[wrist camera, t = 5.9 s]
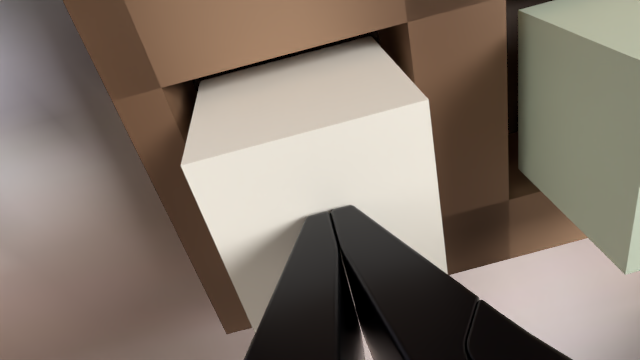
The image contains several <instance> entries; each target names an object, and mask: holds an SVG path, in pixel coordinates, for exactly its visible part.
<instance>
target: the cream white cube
mask: <svg viewBox="0 0 640 360" xmlns="http://www.w3.org/2000/svg"><path fill="white" fill-rule="evenodd" d="M181 168H182V170H183V172H184V175H185V177H186V179H187V181H188V184H189V186H190V188H191V190H192V193H193V195H194V197H195V199H196V202H197V204H198V206H199V208H200V211H201V213H202V215H203V217H204V220H205V222H206V224H207V226H208V229H209V231H210V233H211V235H212V238H213V240H214V242H215V244H216V247H217V249H218V251H219V253H220V256H221V258H222V260H223V262H224V265H225V267H226V269H227V271H228V274H229V276H230V278H231V280H232V283H233V285H234V287H235V289H236V292H237V294H238V296H239V298H240V301H241V303H242V305H243V308H244V310H245V312H246V314H247V317H248V319H249V321H250V323H251V326H252V328H253V330H254V332H255V333H256V331H257V328H258V326H259V324H260V322H261V319H262V317H263V315H264V312H265V310H266V308H267V306H268V303H269V301H270V299H271V296H272V294H273V292H274V290H275V287H276V285H277V283H278V280H279V278H280V276H281V274H282V271H283V269H284V267H285V264H286V262H287V260H288V258H289V255H290V253H291V251H292V248H293V246H294V244H295V242H296V239H297V237H298V235H299V232H300V230H301V228H302V226H303V223H304V221H305V219H306V217H307V216H310V215H313V214H317V213H321V212H325V211H327V212H329V213H331V211H332V210H333V209H336V208H340V207H343V206H347V205H353V206H355V207H356V208H358V209H359V210H360V211H362V212H363V213H364V214H366V215H367V216H369V217H370V218H371V219H373V220H374V221H375V222H377V223H378V224H379V225H381V226H382V227H384V228H385V229H386V230H388V231H389V232H390V233H392V234H393V235H394V236H396V237H397V238H399V239H400V240H401V241H403V242H404V243H405V244H407V245H408V246H409V247H411V248H412V249H414V250H415V251H416V252H418V253H419V254H420V255H422V256H423V257H424V258H426V259H427V260H429V261H430V262H431V263H433V264H434V265H435V266H437V267H438V268H439V269H441V270H442V271H444V272H445V273H446V274H448V272H447V263H446V253H445V244H444V235H443V226H442V217H441V208H440V199H439V190H438V180H437V171H436V162H435V153H434V144H433V135H432V126H431V117H430V107H429V99H428V98H427V97H426V96H425V95H424V94H423V93H422V92H421V91H420V89H419V88H418V87H417V86H416V85H415V84H414V83H413V82H412V81H411V80H410V78H409V77H408V76H407V75H406V74H405V73H404V72H403V71H402V70H401V69H400V67H399V66H398V65H397V64H396V63H395V62H394V61H393V60H392V59H391V58H390V56H389V55H388V54H387V53H386V52H385V51H384V50H383V49H382V48H381V47H380V46H379V44H378V43H377V42H376V41H375V40H374V39H373V38H372V37H371V36H368V37H364V38H360V39H356V40H353V41H349V42H345V43H341V44H338V45H334V46H330V47H326V48H323V49H319V50H315V51H311V52H308V53H304V54H300V55H296V56H293V57H289V58H285V59H281V60H278V61H274V62H270V63H266V64H263V65H259V66H255V67H251V68H248V69H244V70H240V71H236V72H233V73H229V74H225V75H221V76H218V77H214V78H210V79H206V80H203V81H200V85H199V90H198V94H197V98H196V102H195V106H194V111H193V115H192V119H191V123H190V128H189V132H188V136H187V140H186V145H185V149H184V153H183V157H182V162H181ZM330 216H331V214H330ZM331 219H332V218H331ZM332 223H333V222H332ZM333 227H334V226H333ZM334 231H335V230H334ZM335 234H336V233H335ZM336 238H337V237H336ZM337 242H338V241H337ZM339 249H340V248H339ZM340 253H341V252H340ZM341 257H342V256H341ZM343 264H344V263H343ZM344 268H345V267H344ZM345 272H346V271H345ZM347 279H348V278H347ZM348 283H349V282H348ZM349 287H350V286H349ZM350 291H351V290H350ZM351 294H352V293H351ZM352 298H353V297H352ZM353 302H354V301H353ZM354 306H355V304H354Z"/></svg>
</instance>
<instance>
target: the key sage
mask: <svg viewBox="0 0 640 360" xmlns="http://www.w3.org/2000/svg"><path fill="white" fill-rule="evenodd" d="M518 169H519V170H520V171H521V172H522V173H523V174H524V175H525V176H526V177H527V178H528V179H529V180H530V181H531V182H532V183H533V184H534V185H535V186H536V187H537V188H538V189H539V190H540V191H541V192H542V193H543V194H544V195H545V196H546V197H547V198H549V199H550V200H551V201H552V202H553V203H554V204H555V205H556V206H557V207H558V208H559V209H560V210H561V211H562V212H563V213H564V214H565V215H566V216H567V217H568V218H569V219H570V220H571V221H572V222H573V223H574V224H575V225H576V226H577V227H578V228H579V229H580V230H581V231H582V232H583V233H584V234H585V235H586V236H587V237H588V238H589V239H590V240H591V241H592V242H593V243H594V244H595V245H596V246H597V247H598V248H599V249H600V250H601V251H602V252H603V253H604V254H605V255H606V256H607V257H608V258H609V259H610V260H611V261H612V262H613V263H614V264H615V265H616V266H617V267H618V268H619V269H620V270H621V271H622V272H623V273H624V274H625V275H626V274H630V273H633V272H637V271H640V0H554V1H550V2H546V3H542V4H539V5H535V6H531V7H527V8H524V9H520V10H518Z"/></svg>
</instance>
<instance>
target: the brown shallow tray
mask: <svg viewBox="0 0 640 360" xmlns="http://www.w3.org/2000/svg"><path fill="white" fill-rule="evenodd" d="M63 2H64V4H65V6H66V8H67V11H68V13H69V15H70V17H71V19H72V21H73V23H74V25H75V27H76V29H77V31H78V33H79V35H80V37H81V39H82V41H83V43H84V45H85V47H86V49H87V51H88V53H89V55H90V57H91V59H92V61H93V63H94V65H95V67H96V69H97V71H98V74H99V76H100V78H101V80H102V82H103V84H104V86H105V88H106V90H107V92H108V94H109V96H110V98H111V100H112V102H113V104H114V106H115V108H116V110H117V112H118V114H119V116H120V118H121V120H122V122H123V124H124V126H125V128H126V130H127V132H128V135H129V137H130V139H131V141H132V143H133V145H134V147H135V149H136V151H137V153H138V155H139V157H140V159H141V161H142V163H143V165H144V167H145V169H146V171H147V173H148V175H149V177H150V179H151V181H152V183H153V185H154V187H155V189H156V191H157V193H158V195H159V198H160V200H161V202H162V204H163V206H164V208H165V210H166V212H167V214H168V216H169V218H170V220H171V222H172V224H173V226H174V228H175V230H176V232H177V234H178V236H179V238H180V240H181V242H182V244H183V246H184V248H185V250H186V252H187V254H188V256H189V259H190V261H191V263H192V265H193V267H194V269H195V271H196V273H197V275H198V277H199V279H200V281H201V283H202V285H203V287H204V289H205V291H206V293H207V295H208V297H209V299H210V301H211V303H212V305H213V307H214V309H215V311H216V313H217V315H218V317H219V319H220V322H221V324H222V326H223V328H224V330H225V332H226V334H230V333H233V332H237V331H241V330H245V329H248V328H252V326H251V323H250V321H249V319H248V317H247V314H246V312H245V310H244V308H243V305H242V303H241V301H240V298H239V296H238V294H237V292H236V289H235V287H234V285H233V283H232V280H231V278H230V276H229V274H228V271H227V269H226V267H225V265H224V262H223V260H222V258H221V256H220V253H219V251H218V249H217V247H216V244H215V242H214V240H213V238H212V235H211V233H210V231H209V229H208V226H207V224H206V222H205V220H204V217H203V215H202V213H201V211H200V208H199V206H198V204H197V202H196V199H195V197H194V195H193V193H192V190H191V188H190V186H189V184H188V181H187V179H186V177H185V175H184V172H183V170H182V168H181V162H182V157H183V153H184V149H185V145H186V140H187V136H188V132H189V128H190V123H191V119H192V115H193V111H194V106H195V102H196V98H197V92H196V90H195V87H194V84H193V82H192V80H193V79H196V78H200V77H204V76H208V75H211V74H215V73H219V72H223V71H226V70H230V69H234V68H238V67H241V66H245V65H249V64H253V63H256V62H260V61H264V60H268V59H271V58H275V57H279V56H283V55H286V54H290V53H294V52H298V51H301V50H305V49H309V48H313V47H316V46H320V45H324V44H328V43H331V42H335V41H339V40H343V39H346V38H350V37H354V36H358V35H361V34H365V33H369V32H373V31H376V30H378V34H379V40H380V46H381V48H382V49H383V50H384V51H385V52H386V53H387V54H388V55H389V56H390V58H391V59H392V60H393V61H394V62H395V63H396V64H397V65H398V66H399V67H400V69H401V70H402V71H403V72H404V73H405V74H406V75H407V76H408V77H409V78H410V80H411V81H412V82H413V83H414V84H415V85H416V86H417V87H418V88H419V89H420V91H421V92H422V93H423V94H424V95H425V96H426V97H427V98H428V99H429V107H430V117H431V126H432V135H433V144H434V153H435V162H436V171H437V180H438V190H439V199H440V208H441V217H442V226H443V235H444V244H445V253H446V263H447V272H448V275H451V274H454V273H458V272H462V271H466V270H469V269H473V268H477V267H481V266H484V265H488V264H492V263H496V262H499V261H503V260H507V259H510V258H514V257H518V256H522V255H525V254H529V253H533V252H537V251H540V250H544V249H548V248H552V247H555V246H559V245H563V244H567V243H570V242H574V241H578V240H582V239H585V238H588V237H587V236H586V235H585V234H584V233H583V232H582V231H581V230H580V229H579V228H578V227H577V226H576V225H575V224H574V223H573V222H572V221H571V220H570V219H569V218H568V217H567V216H566V215H565V214H564V213H563V212H562V211H561V210H560V209H559V208H558V207H557V206H556V205H555V204H554V203H553V202H552V201H551V200H550V199H549V198H547V197H546V196H545V195H544V194H543V193H542V192H541V191H540V190H539V189H538V188H537V187H536V186H535V185H534V184H533V183H532V182H531V181H530V180H529V179H528V178H527V177H526V176H525V175H524V174H523V173H522V172H521V171H520V170H519V169H518V132H516V133H512V134H508V104H507V36H506V0H63Z"/></svg>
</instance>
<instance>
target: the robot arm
mask: <svg viewBox="0 0 640 360" xmlns="http://www.w3.org/2000/svg"><path fill="white" fill-rule="evenodd" d="M330 214H331V216H330ZM331 218H332V219H331ZM332 222H333V223H332ZM333 226H334V227H333ZM334 230H335V231H334ZM335 233H336V234H335ZM336 237H337V238H336ZM337 241H338V242H337ZM339 248H340V249H339ZM340 252H341V253H340ZM341 256H342V257H341ZM343 263H344V264H343ZM344 267H345V268H344ZM345 271H346V272H345ZM347 278H348V279H347ZM348 282H349V283H348ZM349 286H350V287H349ZM350 290H351V291H350ZM351 293H352V294H351ZM352 297H353V298H352ZM353 301H354V302H353ZM354 304H355V306H354ZM355 308H356V309H355ZM356 312H357V313H356ZM357 316H358V317H357ZM358 319H359V321H358ZM359 323H360V325H359ZM360 326H361V329H362V332H363V335H364V337H365V340H366V343H367V345H368V348H369V350H370V352H371V355H372V357H373V360H572V359H571V358H569V357H567V356H566V355H564V354H562V353H561V352H559V351H558V350H556V349H554V348H553V347H551V346H549V345H548V344H546V343H545V342H543V341H541V340H540V339H538V338H536V337H535V336H533V335H531V334H530V333H529V332H527V331H526V330H524V329H523V328H521V327H520V326H518V325H517V324H515V323H514V322H513V321H511V320H510V319H508V318H507V317H505V316H504V315H502V314H501V313H500V312H498V311H497V310H496V309H494V308H493V307H492V306H490V305H489V304H487V303H486V302H485V301H483V300H479V297H478V296H476V295H475V294H474V293H472V292H471V291H469V290H468V289H467V288H465V287H464V286H463V285H461V284H460V283H459V282H457V281H456V280H454V279H453V278H452V277H450V276H449V275H448V274H446V273H445V272H444V271H442V270H441V269H439V268H438V267H437V266H435V265H434V264H433V263H431V262H430V261H429V260H427V259H426V258H424V257H423V256H422V255H420V254H419V253H418V252H416V251H415V250H414V249H412V248H411V247H409V246H408V245H407V244H405V243H404V242H403V241H401V240H400V239H399V238H397V237H396V236H394V235H393V234H392V233H390V232H389V231H388V230H386V229H385V228H384V227H382V226H381V225H379V224H378V223H377V222H375V221H374V220H373V219H371V218H370V217H369V216H367V215H366V214H364V213H363V212H362V211H360V210H359V209H358V208H356V207H355V206H353V205H347V206H343V207H340V208H336V209H333V210H332V211H331V213H329V212H327V211H325V212H321V213H317V214H313V215H310V216H307V217H306V219H305V221H304V223H303V226H302V228H301V230H300V232H299V235H298V237H297V239H296V242H295V244H294V246H293V248H292V251H291V253H290V255H289V258H288V260H287V262H286V264H285V267H284V269H283V271H282V274H281V276H280V278H279V280H278V283H277V285H276V287H275V290H274V292H273V294H272V296H271V299H270V301H269V303H268V306H267V308H266V310H265V312H264V315H263V317H262V319H261V322H260V324H259V326H258V328H257V331H256V333H255V335H254V338H253V340H252V342H251V344H250V347H249V349H248V351H247V353H246V356H245V358H244V360H365V356H364V348H363V341H362V335H361V330H360Z"/></svg>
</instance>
